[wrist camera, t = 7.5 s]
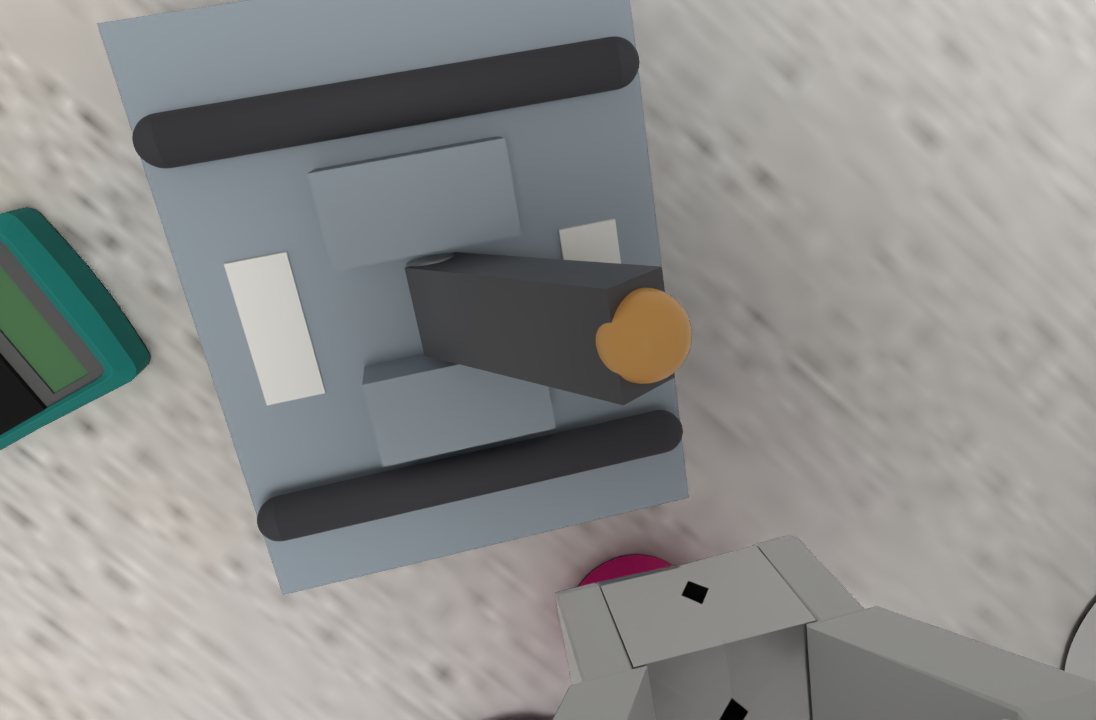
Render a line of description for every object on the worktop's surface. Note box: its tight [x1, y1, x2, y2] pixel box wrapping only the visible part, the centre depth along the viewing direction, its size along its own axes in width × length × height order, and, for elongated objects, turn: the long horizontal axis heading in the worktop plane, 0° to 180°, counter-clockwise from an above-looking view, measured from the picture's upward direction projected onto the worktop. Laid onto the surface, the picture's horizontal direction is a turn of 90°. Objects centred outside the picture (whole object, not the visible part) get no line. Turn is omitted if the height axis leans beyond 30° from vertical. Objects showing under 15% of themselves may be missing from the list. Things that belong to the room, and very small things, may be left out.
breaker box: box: [97, 0, 689, 595], centre depth 29 cm, size 16×20×8 cm
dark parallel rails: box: [133, 36, 683, 542], centre depth 26 cm, size 16×15×2 cm
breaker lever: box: [405, 252, 692, 405], centre depth 23 cm, size 2×3×11 cm
